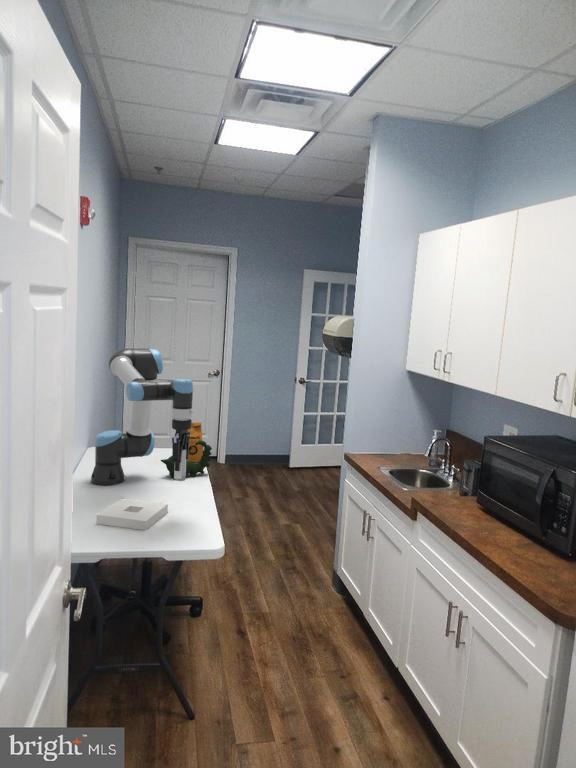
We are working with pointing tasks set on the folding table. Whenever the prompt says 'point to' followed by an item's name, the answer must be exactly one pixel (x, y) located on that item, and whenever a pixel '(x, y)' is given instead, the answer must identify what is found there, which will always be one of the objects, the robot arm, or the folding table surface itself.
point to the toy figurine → (192, 467)
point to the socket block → (132, 514)
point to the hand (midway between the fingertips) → (179, 476)
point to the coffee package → (195, 436)
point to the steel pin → (183, 465)
